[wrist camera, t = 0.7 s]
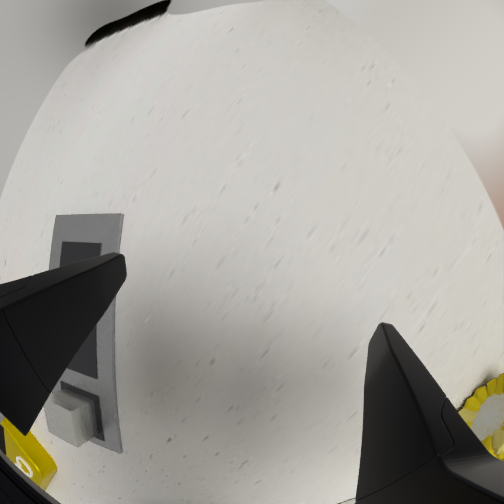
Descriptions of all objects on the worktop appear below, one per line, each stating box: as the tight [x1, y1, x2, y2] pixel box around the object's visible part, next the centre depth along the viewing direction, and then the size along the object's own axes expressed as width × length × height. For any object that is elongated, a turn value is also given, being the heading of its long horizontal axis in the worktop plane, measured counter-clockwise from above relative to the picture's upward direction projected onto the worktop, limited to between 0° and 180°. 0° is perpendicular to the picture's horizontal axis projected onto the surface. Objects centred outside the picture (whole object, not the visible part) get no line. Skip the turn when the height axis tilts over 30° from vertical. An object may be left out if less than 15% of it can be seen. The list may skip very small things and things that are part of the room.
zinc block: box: [44, 389, 98, 447], centre depth 21 cm, size 4×4×4 cm
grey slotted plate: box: [49, 213, 124, 453], centre depth 25 cm, size 26×10×1 cm, turn 176°
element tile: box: [0, 417, 57, 491], centre depth 23 cm, size 15×15×5 cm
